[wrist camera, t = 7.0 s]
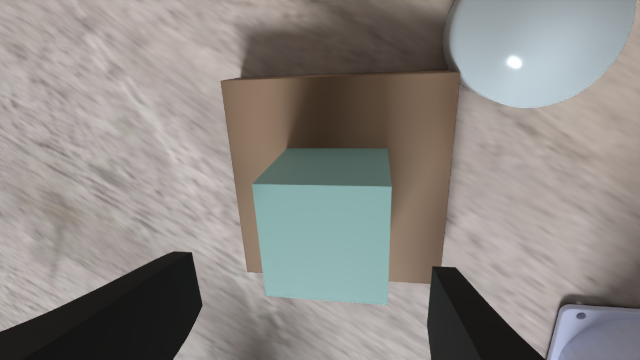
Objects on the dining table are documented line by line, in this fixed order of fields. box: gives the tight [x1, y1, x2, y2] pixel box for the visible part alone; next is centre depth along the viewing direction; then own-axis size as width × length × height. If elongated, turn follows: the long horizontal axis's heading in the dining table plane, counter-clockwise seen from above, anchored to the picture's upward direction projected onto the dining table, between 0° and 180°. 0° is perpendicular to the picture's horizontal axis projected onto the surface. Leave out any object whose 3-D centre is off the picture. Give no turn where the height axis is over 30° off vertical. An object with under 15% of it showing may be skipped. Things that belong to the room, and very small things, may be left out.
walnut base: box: [221, 70, 460, 284], centre depth 18 cm, size 11×11×2 cm
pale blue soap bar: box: [443, 0, 636, 108], centre depth 14 cm, size 6×6×4 cm
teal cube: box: [252, 148, 392, 305], centre depth 15 cm, size 5×5×5 cm
